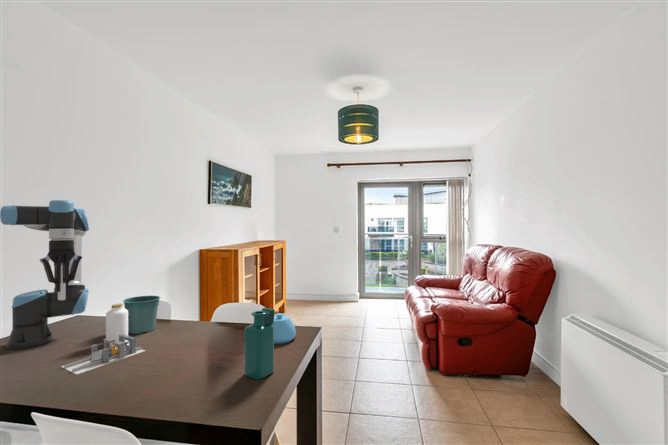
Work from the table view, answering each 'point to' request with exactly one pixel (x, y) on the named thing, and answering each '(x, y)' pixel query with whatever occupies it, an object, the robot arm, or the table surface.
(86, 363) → the collar board
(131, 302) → the flower pot
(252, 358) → the teal bottle
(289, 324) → the sugar bowl
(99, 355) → the tube
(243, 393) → the table surface
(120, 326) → the potion bottle
